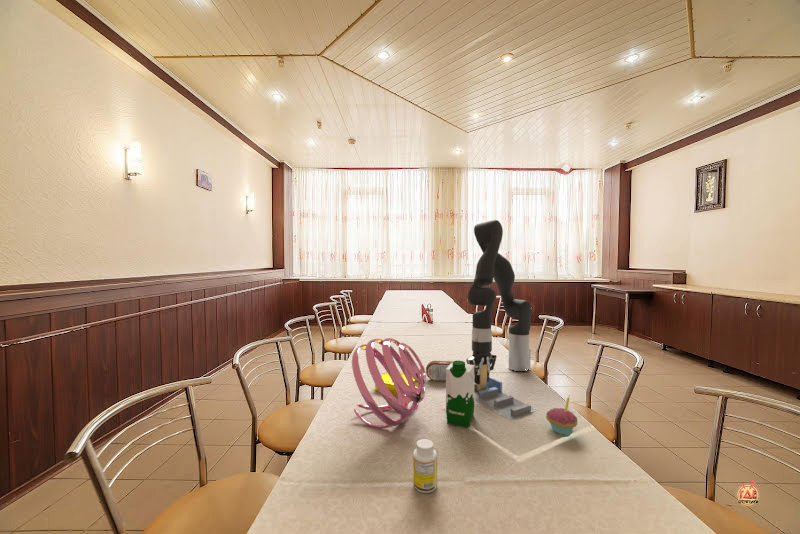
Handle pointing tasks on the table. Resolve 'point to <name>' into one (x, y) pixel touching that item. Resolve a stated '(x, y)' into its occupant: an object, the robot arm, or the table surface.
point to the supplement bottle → (425, 466)
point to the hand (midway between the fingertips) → (481, 382)
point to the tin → (437, 370)
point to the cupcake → (562, 419)
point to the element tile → (390, 383)
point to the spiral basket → (403, 389)
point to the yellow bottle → (482, 378)
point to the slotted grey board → (501, 401)
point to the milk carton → (460, 393)
